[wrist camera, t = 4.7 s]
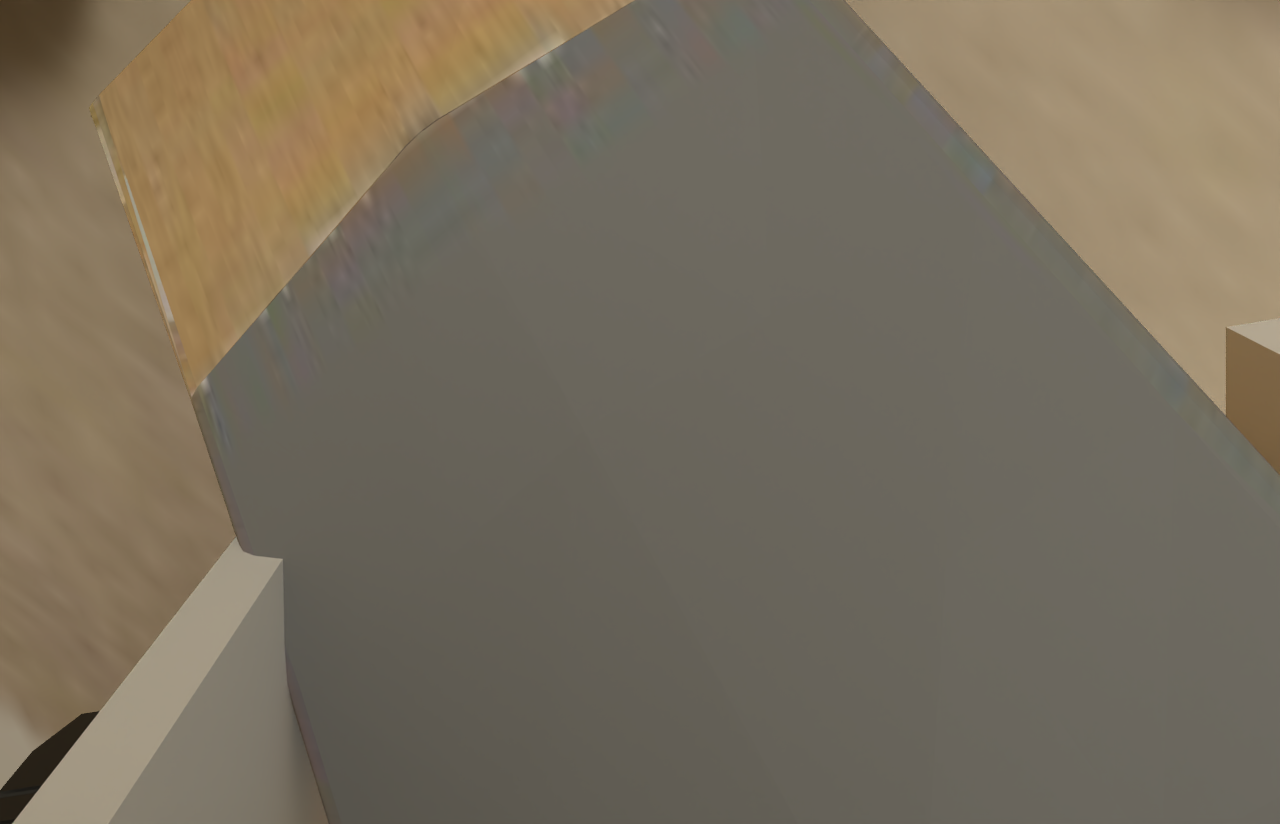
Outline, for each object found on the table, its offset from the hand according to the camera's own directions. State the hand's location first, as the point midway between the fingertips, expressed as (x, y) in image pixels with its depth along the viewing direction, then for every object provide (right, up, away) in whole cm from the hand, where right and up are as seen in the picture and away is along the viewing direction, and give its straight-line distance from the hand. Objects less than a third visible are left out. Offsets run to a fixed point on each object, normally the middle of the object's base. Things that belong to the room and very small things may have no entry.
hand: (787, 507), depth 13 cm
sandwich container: (-1, +2, +3) cm, 4 cm away
